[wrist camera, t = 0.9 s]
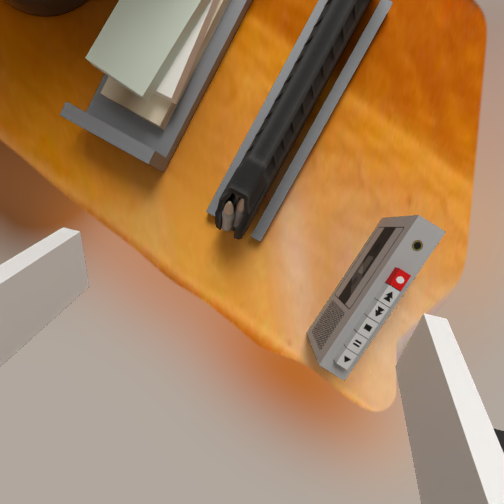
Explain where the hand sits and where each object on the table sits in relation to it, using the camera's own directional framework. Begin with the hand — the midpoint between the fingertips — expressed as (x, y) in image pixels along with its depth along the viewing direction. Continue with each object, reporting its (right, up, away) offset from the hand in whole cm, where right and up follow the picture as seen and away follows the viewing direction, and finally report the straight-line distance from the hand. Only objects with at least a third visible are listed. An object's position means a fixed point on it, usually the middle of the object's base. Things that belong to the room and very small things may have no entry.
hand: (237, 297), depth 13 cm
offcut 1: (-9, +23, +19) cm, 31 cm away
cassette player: (+12, -2, +25) cm, 28 cm away
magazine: (+5, +17, +24) cm, 30 cm away
